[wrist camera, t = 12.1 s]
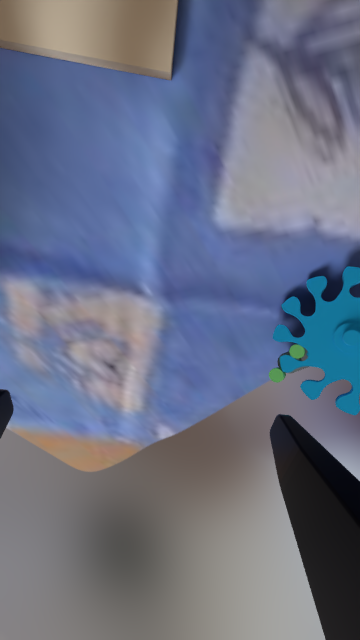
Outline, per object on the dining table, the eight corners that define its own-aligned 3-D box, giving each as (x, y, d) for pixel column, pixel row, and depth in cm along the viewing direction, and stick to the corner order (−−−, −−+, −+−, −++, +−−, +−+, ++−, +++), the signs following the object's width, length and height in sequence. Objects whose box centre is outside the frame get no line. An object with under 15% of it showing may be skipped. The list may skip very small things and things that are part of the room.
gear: (392, 233, 16) (514, 385, 12) (374, 263, 21) (456, 376, 18) (237, 313, 20) (298, 441, 17) (254, 321, 25) (302, 420, 22)
